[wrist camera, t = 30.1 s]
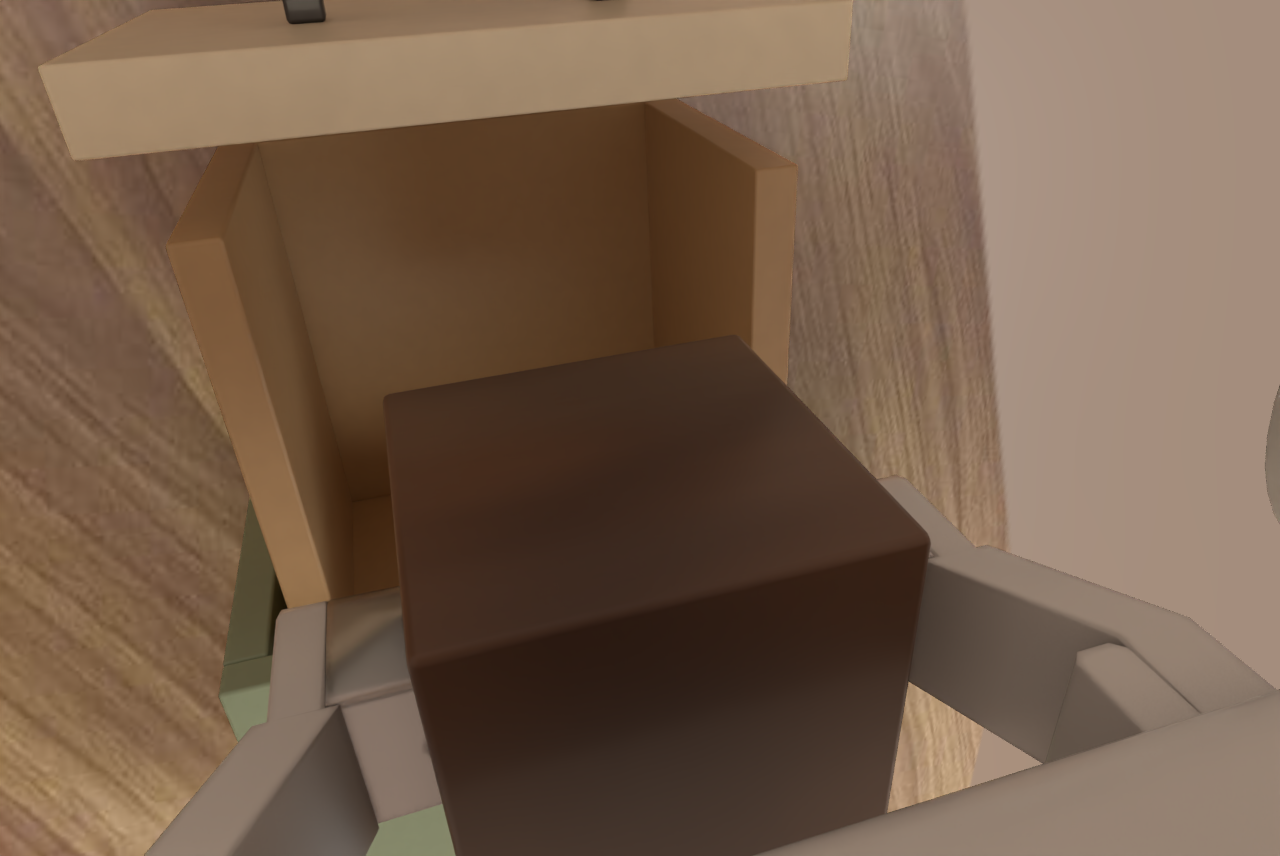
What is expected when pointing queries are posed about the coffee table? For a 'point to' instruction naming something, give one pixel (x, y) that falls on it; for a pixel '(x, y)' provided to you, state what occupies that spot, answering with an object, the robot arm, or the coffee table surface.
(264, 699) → the cabinet
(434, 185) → the drawer
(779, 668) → the block
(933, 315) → the coffee table surface
